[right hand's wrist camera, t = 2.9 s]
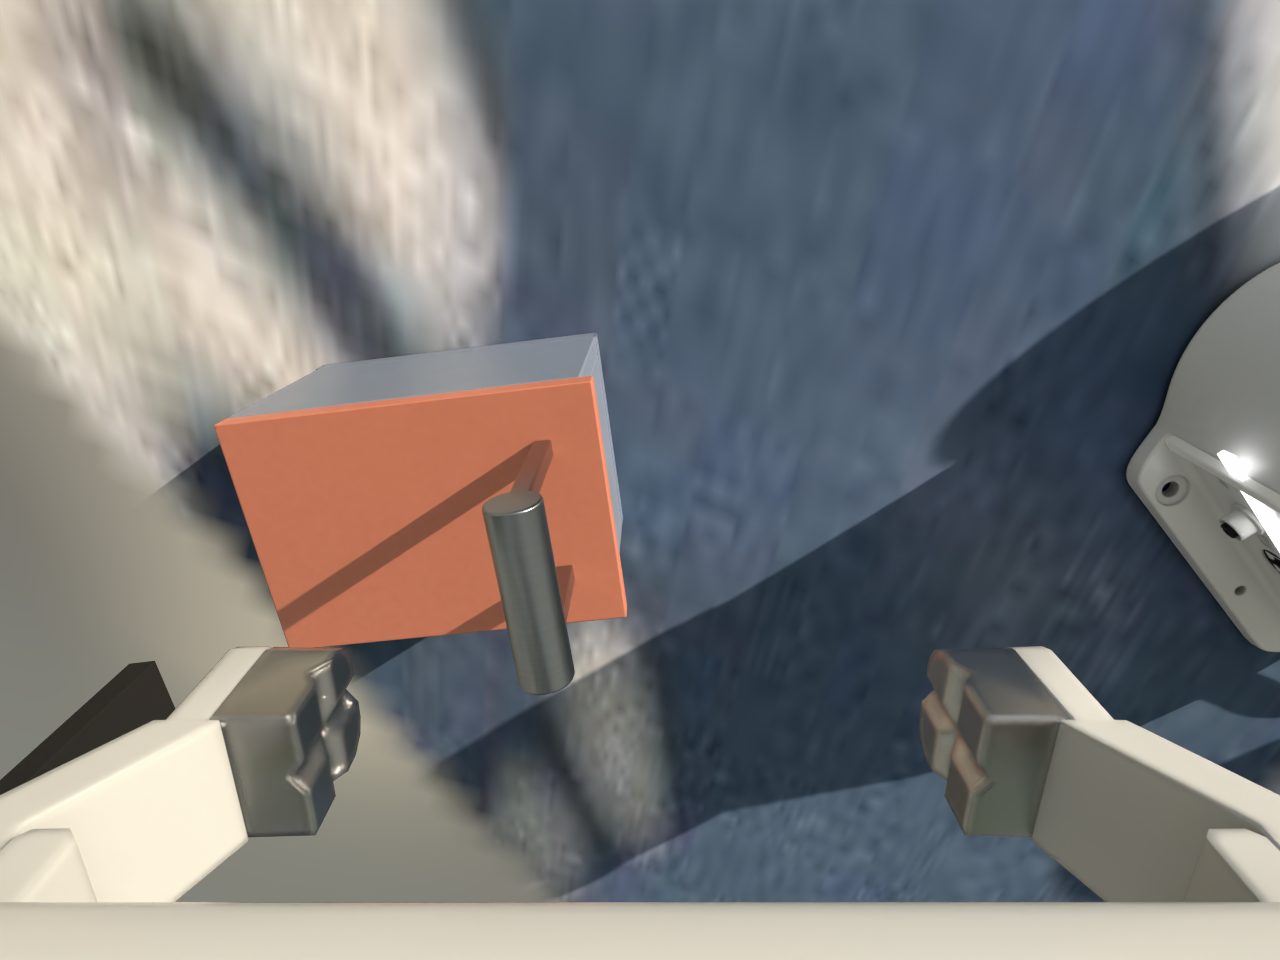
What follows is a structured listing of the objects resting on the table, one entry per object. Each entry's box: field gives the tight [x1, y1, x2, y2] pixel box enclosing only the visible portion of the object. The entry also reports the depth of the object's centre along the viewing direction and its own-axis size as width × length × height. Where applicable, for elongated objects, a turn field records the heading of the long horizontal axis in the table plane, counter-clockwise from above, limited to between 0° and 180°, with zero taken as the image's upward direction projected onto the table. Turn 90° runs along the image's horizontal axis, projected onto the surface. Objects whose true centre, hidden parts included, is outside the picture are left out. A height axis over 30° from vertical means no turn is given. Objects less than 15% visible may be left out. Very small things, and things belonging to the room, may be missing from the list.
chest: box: [229, 333, 623, 552], centre depth 35 cm, size 14×10×10 cm
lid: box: [214, 376, 627, 695], centre depth 27 cm, size 15×10×8 cm
